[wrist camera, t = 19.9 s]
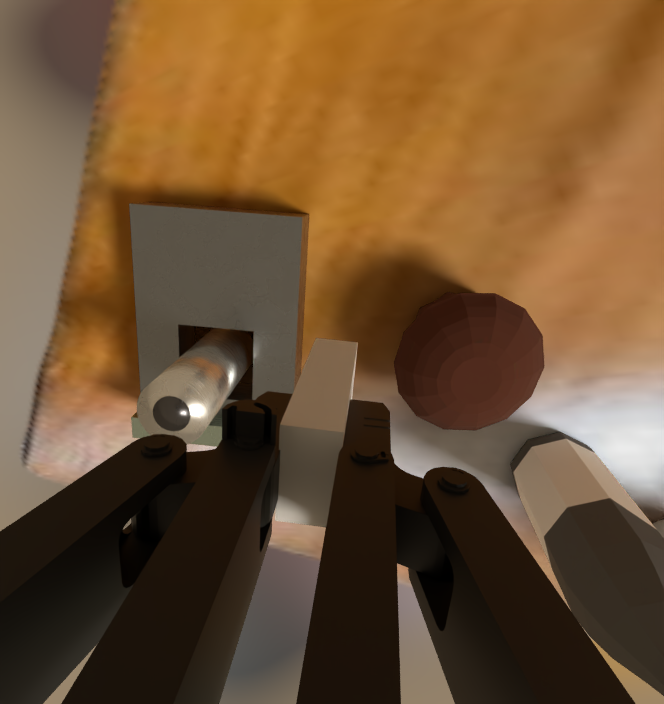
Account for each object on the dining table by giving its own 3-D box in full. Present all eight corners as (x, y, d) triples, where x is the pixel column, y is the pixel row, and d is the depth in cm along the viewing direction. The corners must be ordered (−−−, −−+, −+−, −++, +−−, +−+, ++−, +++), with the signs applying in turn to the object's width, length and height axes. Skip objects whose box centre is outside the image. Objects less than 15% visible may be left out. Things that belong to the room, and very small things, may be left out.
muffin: (457, 249, 43) (479, 267, 33) (549, 331, 44) (595, 371, 35) (366, 348, 46) (363, 390, 37) (454, 420, 48) (473, 479, 38)
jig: (150, 201, 44) (116, 204, 38) (309, 214, 43) (298, 218, 37) (160, 408, 50) (132, 437, 44) (298, 423, 49) (287, 454, 44)
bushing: (203, 321, 47) (133, 377, 33) (255, 326, 46) (206, 384, 33) (204, 371, 48) (137, 442, 35) (254, 376, 48) (207, 450, 35)
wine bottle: (491, 461, 49) (649, 845, 21) (563, 414, 47) (852, 771, 18) (539, 516, 50) (748, 945, 22) (611, 473, 48) (946, 887, 20)
